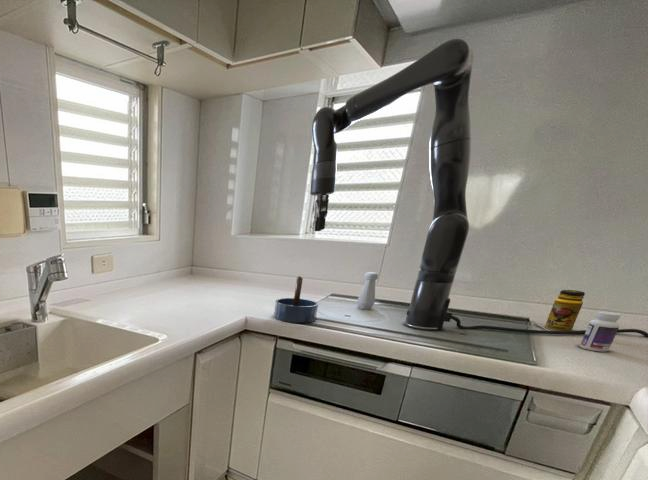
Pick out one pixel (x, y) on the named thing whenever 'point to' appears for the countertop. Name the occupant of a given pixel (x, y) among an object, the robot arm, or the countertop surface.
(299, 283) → the brown stamp
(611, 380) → the countertop surface
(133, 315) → the countertop surface
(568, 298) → the condiment
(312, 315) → the bowl
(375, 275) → the salt shaker
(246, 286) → the countertop surface
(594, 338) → the pill bottle
